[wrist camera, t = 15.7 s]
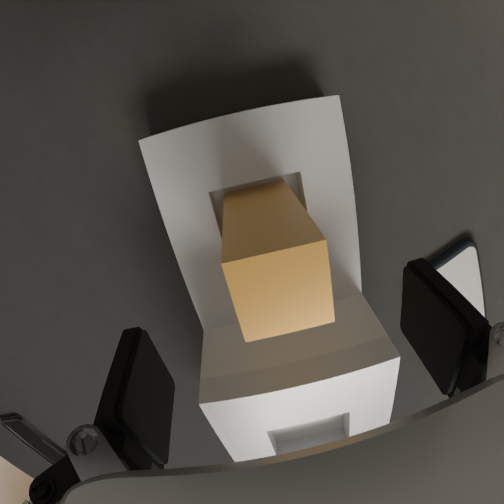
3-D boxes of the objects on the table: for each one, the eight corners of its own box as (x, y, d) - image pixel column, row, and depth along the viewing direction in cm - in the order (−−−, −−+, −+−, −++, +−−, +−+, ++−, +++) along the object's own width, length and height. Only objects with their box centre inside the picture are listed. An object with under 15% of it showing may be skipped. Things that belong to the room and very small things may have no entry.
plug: (223, 192, 21) (221, 263, 12) (283, 179, 21) (326, 239, 12) (238, 246, 23) (245, 342, 14) (293, 233, 22) (335, 321, 13)
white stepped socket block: (150, 135, 20) (91, 160, 11) (324, 96, 19) (395, 92, 10) (245, 405, 32) (251, 485, 23) (352, 380, 31) (381, 455, 22)
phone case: (396, 278, 27) (427, 369, 33) (404, 287, 25) (433, 377, 32) (467, 229, 25) (482, 330, 31) (477, 236, 24) (489, 337, 30)
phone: (59, 468, 40) (-2, 421, 33) (61, 464, 41) (1, 416, 34) (85, 468, 39) (19, 418, 32) (86, 463, 40) (21, 413, 33)
